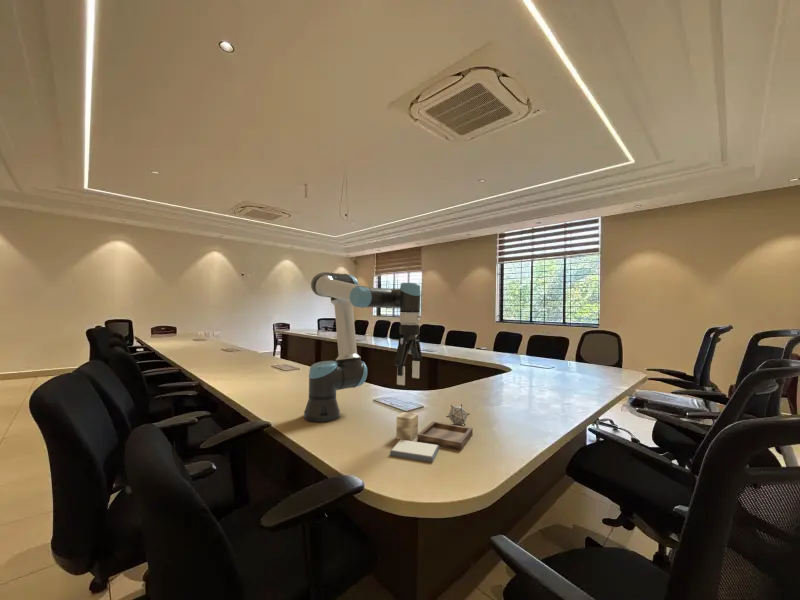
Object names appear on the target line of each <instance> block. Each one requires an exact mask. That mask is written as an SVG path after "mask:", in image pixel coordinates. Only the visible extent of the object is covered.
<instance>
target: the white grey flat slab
mask: <svg viewBox="0 0 800 600" xmlns="http://www.w3.org/2000/svg"><path fill="white" fill-rule="evenodd" d="M439 450H440V446H438V445H434V444H427V443H423V442H418V441H414V440H412V441H407V440H402V439H398V441H397V443H396V444H395V445H394V446H393V447H392V448H391V450H390V452H389V455H390V456H391V457H396V458H403V459H409V460H415V461H422V462H428V463H433V462H434V461H435V458H436V457H437V455H438V453H439Z"/></svg>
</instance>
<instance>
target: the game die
mask: <svg viewBox="0 0 800 600" xmlns="http://www.w3.org/2000/svg"><path fill="white" fill-rule="evenodd" d="M450 407H451V408H450V411H449V413H448V415H446V416H445V417H446V418H449V420H450V422H452V424H453V425H457V426H460V425H464V426H466V424H465V423H466V420H467V418H468V417H469V415H470V414H471V413H468V412H467V411H466V410H465V409H464V407H463V404H460V405H456V406H453V405H452V404H450Z"/></svg>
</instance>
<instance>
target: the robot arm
mask: <svg viewBox="0 0 800 600" xmlns="http://www.w3.org/2000/svg"><path fill="white" fill-rule="evenodd" d="M310 289H311V291H312V292H313V294H315V295H317V296H318V297H322V298H330V303H331V304H332V305H333V306H334V316H335V328H336V340H337V351H338V352H337V353H338V356H337V358H335V360H323V361H322V360H321V361H318V362H315V363H313V364H311V365H310V367H309V374H308V399H307V403H306V405H305V406H306V407H305V409H304V411H303V419H304V420H306V421H308V422H311V423H325V422H326V423H328V422H332V421H334V420H337V419H339V418H340V414H341V411H340V408H339V404H338V400H337V391H340V390H341V391H342V390H345V389H354V388H357V387H361V386H362V385H364V383H365V382H366V380H367V377H368V367H367V365H366V363H365V362H364V361H362V357H361V356H360V355H359V354H358V349H357V348H358V347H357V339H356V327H355V316H354V307H355V308H362V309H363V308H376V309H377V308H379V309H381V308H382V309H383V308H385V309H399V323H400V325H399V334H400V335H402V337H399V338H398V343H397V344H398V345H397V349H396V353H395V357H394V362H393V365H394V366H395V367H396V385H398V386H405V385H406V366H405V363H406V361H407V357H408V355H409V352H410V353H411V356H412V359H413V360H411V361H412V364H411V369H412V371H411V378H412V379H420V365H421V364H420V362H422V361H423V355H422V349H421V344H420V336H419V335H420V331H421V330H420V327H421V326H420V322H421V320H420V319H421V317H422V316H421V311H420V310H421V295H422V294H421V284H419V283H417V282H402V283H401V284H400V286H399V288H381V287H369V286H364V285H360V284H359V281H358V279H357V277H355V276H354V275H351V274H347V273H336V272H327V271H326V272H320V273H318V274H316V275H314V276H313V277H312V280H311V282H310Z"/></svg>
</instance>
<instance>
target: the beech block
mask: <svg viewBox="0 0 800 600" xmlns="http://www.w3.org/2000/svg"><path fill="white" fill-rule="evenodd" d="M395 426H396V427H395V428H396V431H395V432H396V433H395V434H396V436H395V438H396V439H397V440H407V441H414V440H415V439H417V436H418V434H419V414H417V413H410V412H406V411H403V412H401V413H400V414H399V415H397V416H396V425H395Z"/></svg>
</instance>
